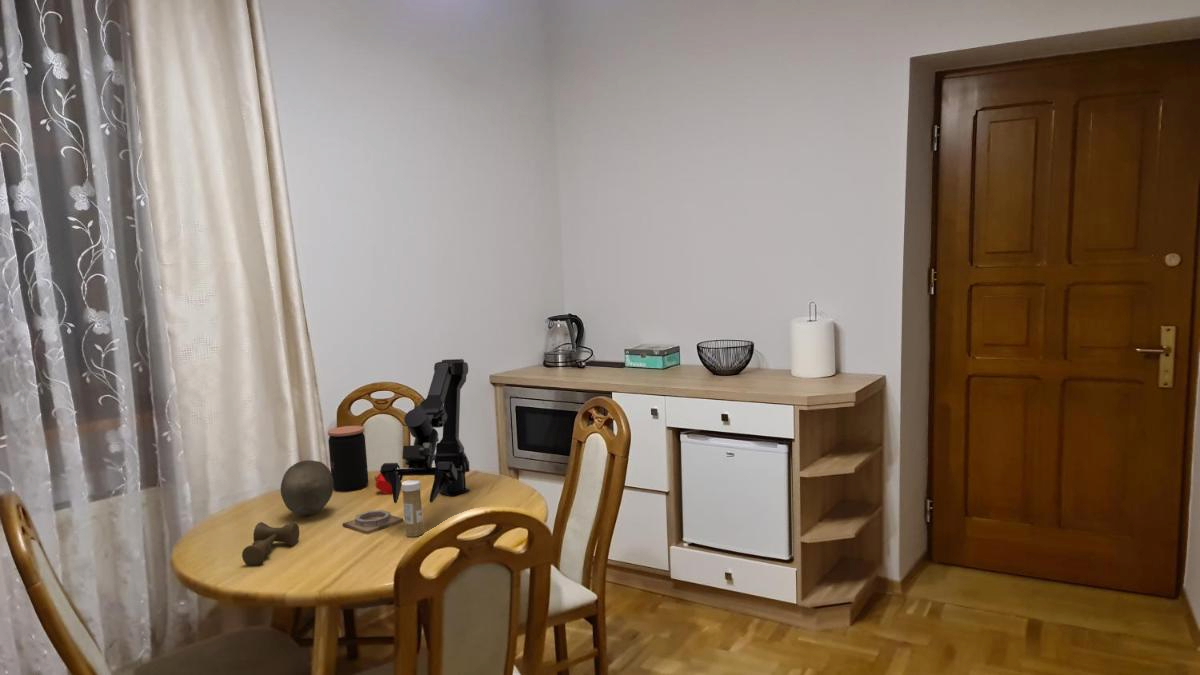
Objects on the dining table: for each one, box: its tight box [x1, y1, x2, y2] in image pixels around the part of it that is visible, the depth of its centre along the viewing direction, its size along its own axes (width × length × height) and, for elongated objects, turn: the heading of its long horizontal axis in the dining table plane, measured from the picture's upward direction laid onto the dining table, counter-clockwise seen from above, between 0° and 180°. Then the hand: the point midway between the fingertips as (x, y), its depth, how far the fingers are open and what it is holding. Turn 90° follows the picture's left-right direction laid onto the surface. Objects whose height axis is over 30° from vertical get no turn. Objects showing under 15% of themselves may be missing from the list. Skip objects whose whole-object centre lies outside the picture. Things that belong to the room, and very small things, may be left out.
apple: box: [374, 472, 393, 495], centre depth 236 cm, size 7×7×8 cm
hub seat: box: [342, 510, 405, 535], centre depth 207 cm, size 11×11×2 cm
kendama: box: [241, 521, 300, 567], centre depth 191 cm, size 6×10×20 cm
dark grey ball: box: [280, 459, 334, 517], centre depth 217 cm, size 14×14×15 cm
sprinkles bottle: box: [401, 479, 425, 538], centre depth 197 cm, size 5×5×13 cm
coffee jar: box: [327, 425, 369, 493], centre depth 242 cm, size 11×11×18 cm
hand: (412, 502), depth 198 cm, fingers open, 9 cm apart
